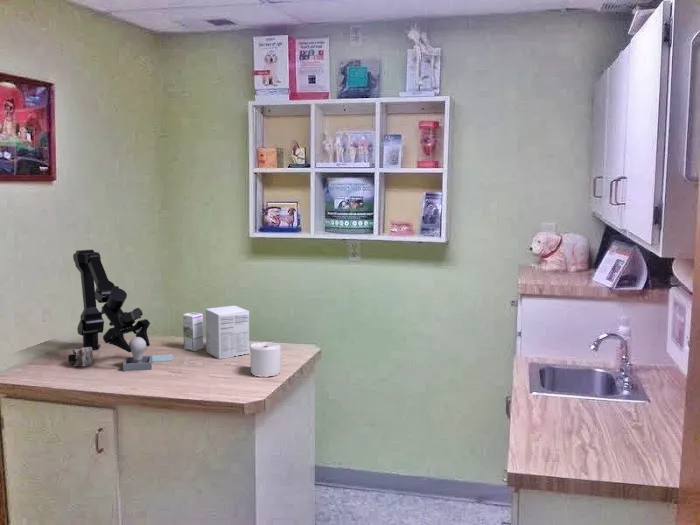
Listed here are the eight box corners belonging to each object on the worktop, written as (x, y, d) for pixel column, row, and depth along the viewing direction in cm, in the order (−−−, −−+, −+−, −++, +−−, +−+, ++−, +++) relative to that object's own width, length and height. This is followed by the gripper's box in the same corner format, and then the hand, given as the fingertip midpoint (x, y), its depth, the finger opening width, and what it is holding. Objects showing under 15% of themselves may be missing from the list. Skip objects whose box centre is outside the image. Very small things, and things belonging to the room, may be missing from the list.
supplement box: (250, 354, 264) (250, 310, 262) (218, 359, 257) (218, 314, 255) (236, 347, 275) (235, 305, 273) (205, 351, 268) (204, 308, 266)
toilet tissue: (272, 379, 234) (272, 351, 232) (241, 375, 238) (241, 347, 237) (285, 370, 244) (285, 343, 242) (256, 367, 248) (255, 340, 247)
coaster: (151, 356, 260) (151, 355, 260) (172, 355, 262) (172, 354, 262) (150, 362, 253) (150, 361, 253) (172, 360, 255) (172, 359, 254)
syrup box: (204, 348, 273) (203, 313, 271) (193, 351, 268) (192, 315, 266) (193, 346, 276) (193, 311, 274) (183, 349, 271) (182, 313, 269)
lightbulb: (150, 366, 247) (149, 337, 246) (134, 370, 243) (133, 340, 241) (141, 363, 251) (140, 334, 250) (126, 366, 247) (125, 337, 245)
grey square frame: (125, 363, 250) (125, 357, 250) (152, 362, 253) (152, 355, 252) (123, 371, 241) (123, 364, 241) (151, 369, 243) (151, 362, 243)
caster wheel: (77, 366, 255) (101, 364, 253) (59, 368, 244) (84, 366, 242) (76, 348, 256) (100, 346, 254) (58, 350, 245) (83, 347, 243)
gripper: (107, 306, 237) (132, 340, 234) (145, 297, 254) (169, 329, 250) (92, 326, 242) (116, 360, 238) (130, 316, 258) (153, 347, 255)
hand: (139, 348), depth 245 cm, fingers open, 9 cm apart
